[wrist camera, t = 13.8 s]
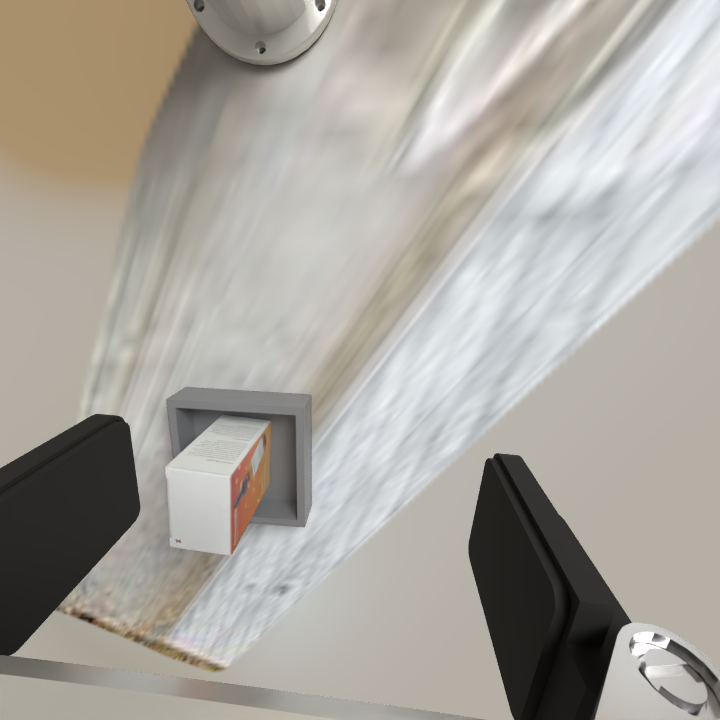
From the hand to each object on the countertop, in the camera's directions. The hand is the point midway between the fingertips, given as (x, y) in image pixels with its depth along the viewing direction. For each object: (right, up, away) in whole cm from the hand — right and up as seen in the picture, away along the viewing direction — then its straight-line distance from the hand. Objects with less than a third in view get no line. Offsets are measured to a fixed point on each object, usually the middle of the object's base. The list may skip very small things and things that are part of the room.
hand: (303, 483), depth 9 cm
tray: (-11, -7, +31) cm, 33 cm away
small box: (-11, -7, +30) cm, 33 cm away
